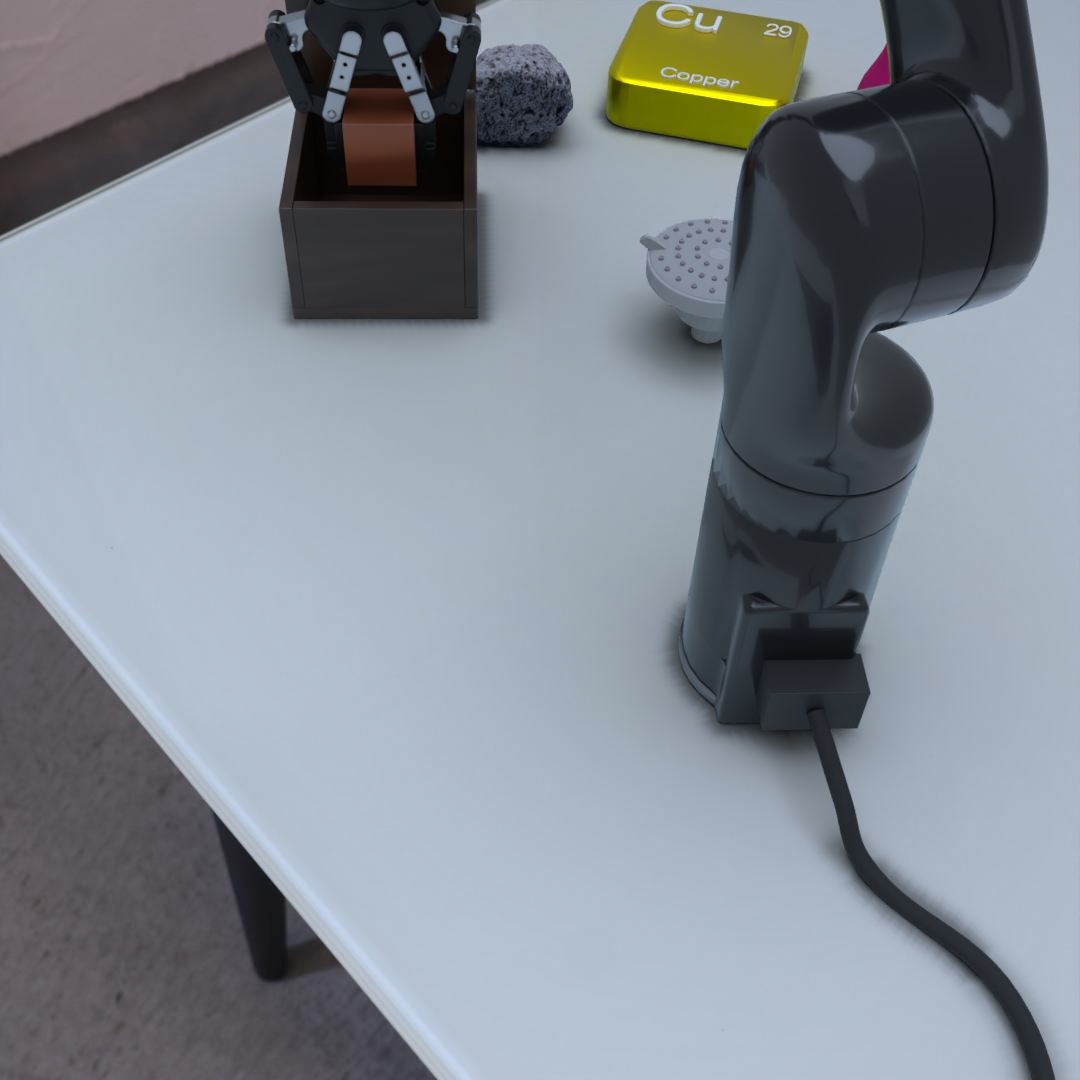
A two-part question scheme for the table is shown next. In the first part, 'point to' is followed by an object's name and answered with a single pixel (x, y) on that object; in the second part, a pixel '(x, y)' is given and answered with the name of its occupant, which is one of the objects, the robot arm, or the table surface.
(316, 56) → the lid
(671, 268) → the showerhead
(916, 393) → the robot arm
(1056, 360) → the table surface
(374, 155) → the block
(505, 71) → the pumice stone
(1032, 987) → the table surface
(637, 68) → the element tile
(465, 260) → the chest
